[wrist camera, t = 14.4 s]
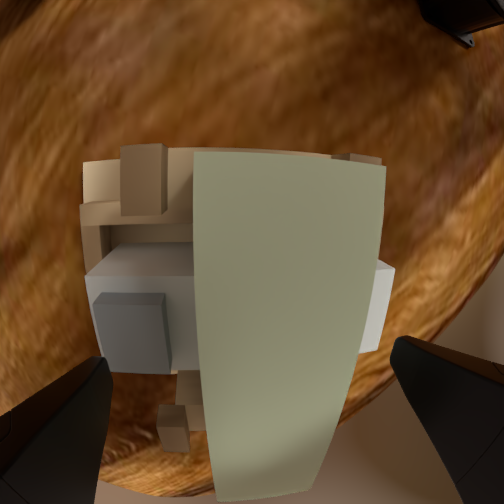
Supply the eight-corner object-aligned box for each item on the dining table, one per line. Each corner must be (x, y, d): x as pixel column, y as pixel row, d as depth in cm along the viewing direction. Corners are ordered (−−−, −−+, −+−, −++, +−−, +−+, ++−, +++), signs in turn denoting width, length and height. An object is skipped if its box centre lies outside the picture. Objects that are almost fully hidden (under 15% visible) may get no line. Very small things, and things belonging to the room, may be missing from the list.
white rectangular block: (343, 240, 15) (409, 276, 10) (335, 305, 17) (387, 361, 11) (120, 243, 14) (73, 286, 8) (129, 313, 15) (98, 381, 9)
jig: (370, 168, 15) (457, 173, 9) (345, 352, 19) (394, 417, 12) (88, 162, 13) (13, 160, 6) (113, 363, 16) (86, 442, 10)
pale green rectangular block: (307, 167, 9) (386, 166, 5) (282, 415, 12) (310, 489, 8) (199, 163, 9) (193, 151, 4) (209, 421, 11) (217, 501, 7)
